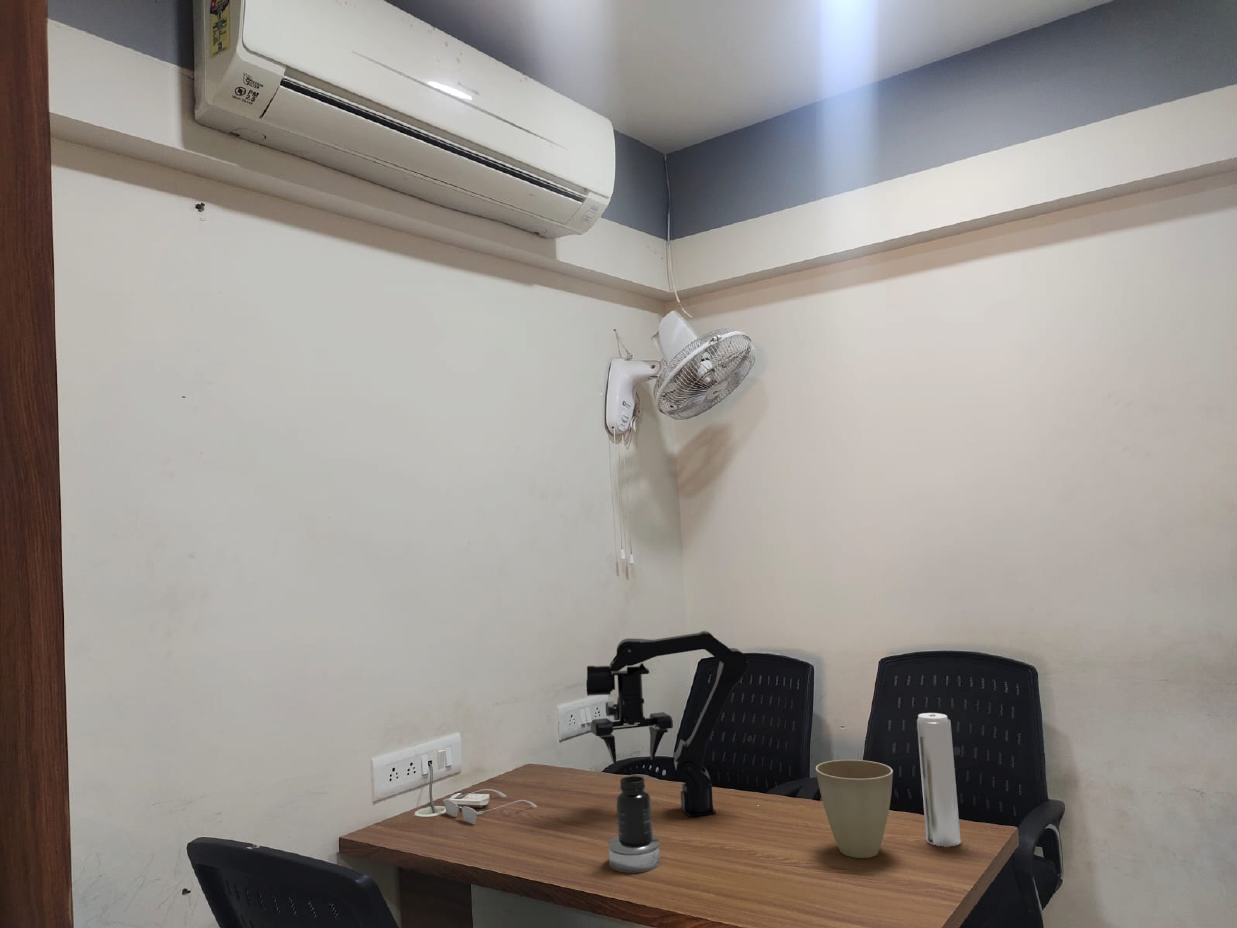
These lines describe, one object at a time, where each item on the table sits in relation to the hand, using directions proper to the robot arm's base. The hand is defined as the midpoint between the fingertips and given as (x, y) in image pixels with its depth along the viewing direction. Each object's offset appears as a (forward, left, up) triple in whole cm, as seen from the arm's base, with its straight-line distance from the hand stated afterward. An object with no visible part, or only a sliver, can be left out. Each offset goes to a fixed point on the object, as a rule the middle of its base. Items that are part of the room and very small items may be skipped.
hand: (633, 761), depth 194 cm
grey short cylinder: (+9, +28, -12) cm, 32 cm away
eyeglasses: (+31, -18, -13) cm, 38 cm away
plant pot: (-34, +40, -12) cm, 54 cm away
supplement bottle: (+9, +28, -8) cm, 31 cm away
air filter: (-52, +42, -12) cm, 68 cm away
